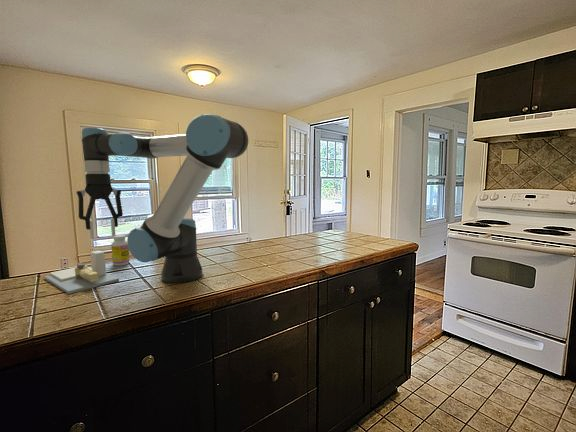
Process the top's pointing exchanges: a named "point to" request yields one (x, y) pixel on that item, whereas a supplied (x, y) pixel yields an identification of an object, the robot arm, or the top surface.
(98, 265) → the mounted latch plate
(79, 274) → the bar
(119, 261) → the supplement bottle
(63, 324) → the top surface
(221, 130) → the robot arm
